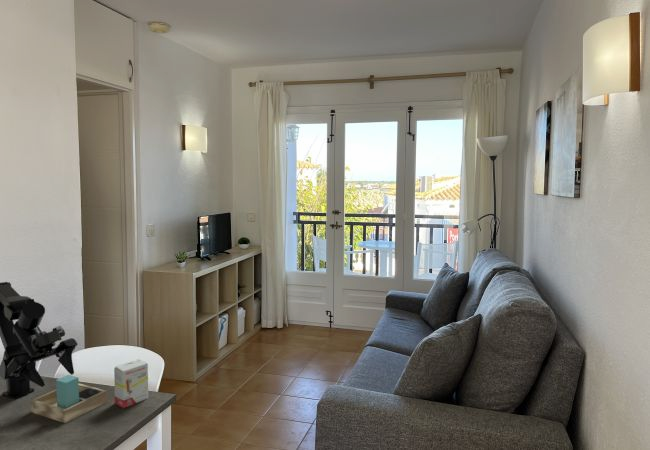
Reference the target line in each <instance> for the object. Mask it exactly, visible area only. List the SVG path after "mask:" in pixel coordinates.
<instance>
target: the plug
mask: <svg viewBox="0 0 650 450" xmlns="http://www.w3.org/2000/svg"><path fill="white" fill-rule="evenodd" d="M79 384H80V383H79V377H77V376H74V375H71V374H68V375H64V376H63V377H59V378H58V379H55V387H56V389H55V390H56V394H57V407H60V408H64V409H67V408H69V407H71V406H73V405H75V404H77V403H79Z"/></svg>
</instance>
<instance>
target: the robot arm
mask: <svg viewBox="0 0 650 450" xmlns="http://www.w3.org/2000/svg"><path fill="white" fill-rule="evenodd" d="M45 314H46V309H45V306H44V305H42V304H41V303H40V302H37V301H35V299H34V298H31V297H29V296H27V295H26V296H25V295H20V294H19V293H18V292H17V291H16V290H15V288H14V287H12V284H11V282H9V281H3V282H0V341H1V343H2V346H3V349H4V352H3V356H2V360H1V362H0V377H1V379H3V380H5V381H6V391H4V392H2V393H1V395H2V396H5V397H8V398H11V399H18V398H20V397H23V396H26V395H27V394H30V393H32V392H34V391H35V388H34V387H33V388H32V387H31V382H32V383H33V384H36V385H38V386H40V387H45V384H46V383H45V382H44V379H43V378H42V376H41V374H40V373H39V371H38V370H37V368H36V366H37V365H36V364H37V362H39V361H42V360H45V359H47V358H49V357H53V356H56V358H58V359H57V361H58V362H59V364H61V366H62V367H63V368H64V369H65V370H66V371H67V373H69V375H71V376H74V373H75V370H74V364H73V352H74V351H75V349H76V348H77V346H78V342H77V340H76V339H75V338H72V337H70V338H68V339H65V340H63V339H62V338H63V337H65V336H66V332H65V329H64V328H63V327H62V326H61V325H58V326H56V327H54V328H52V331H49V332H47V331H45V330H44V331H42V330H41V329H40V325H41V324H42V323H41V322H42V321H43V318H44V317H45ZM14 321H16V322H14ZM56 342H59V344H58V345H57V346H56ZM55 346H56V347H55Z"/></svg>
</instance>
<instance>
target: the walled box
mask: <svg viewBox="0 0 650 450" xmlns="http://www.w3.org/2000/svg"><path fill="white" fill-rule="evenodd" d="M107 395H108V394H107V390H104V389H101V388H97V387H93V386H90V385H86V384H82V383H79V403H77V404H75V405H73V406H71V407H69V408H67V409H64V408H60V407H57V394H56V389H54V390H52V391H49V392H48V393H45V394H42V395H40V396H38V397H35V398H33V399H31V400H30V413H32V414H36V415H38V416H41V417H44V418H48V419H51V420H54V421H58V422H61V423H63V424H66V423H69V422H71V421H73V420H75V419H76V418H78V417H80V416H82V415H84V414H86V413H89V412H91V411H92V410H94V409H96V408H98V407H100V406H103V405H104V404H105V403H107V401H108V400H107Z"/></svg>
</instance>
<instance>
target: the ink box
mask: <svg viewBox="0 0 650 450" xmlns="http://www.w3.org/2000/svg"><path fill="white" fill-rule="evenodd" d="M148 366H149V365H148V362H146V361H144V360H142V359H135V360H130V361H129V362H126V363H125V362H124V363H121V364H118V365H116V366H115V367H114V369H113V370H114V379H113V381H114V404H115V405H116V406H119V407H121V408H123V409H125V408H126V407H130V406H133V405H135V404H138V403H139V402H142V401H145V400H146V399H149V371H148V369H149V367H148Z"/></svg>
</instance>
